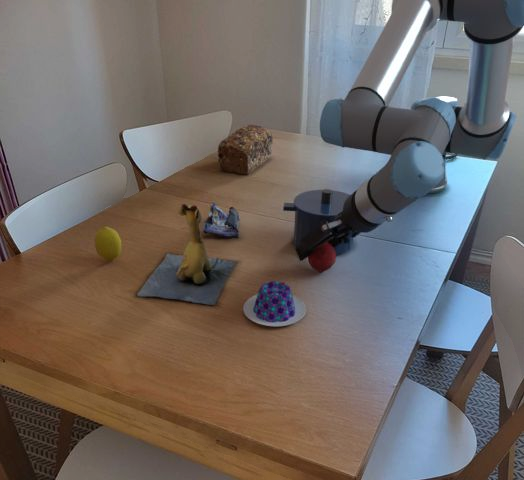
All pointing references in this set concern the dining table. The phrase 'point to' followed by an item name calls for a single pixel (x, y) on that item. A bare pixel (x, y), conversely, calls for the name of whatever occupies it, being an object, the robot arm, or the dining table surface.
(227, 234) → the snack package
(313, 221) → the pot
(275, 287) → the pudding
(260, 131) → the bread
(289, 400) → the dining table surface
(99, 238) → the lemon
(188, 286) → the stuffed giraffe
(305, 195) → the pot lid
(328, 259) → the onion
